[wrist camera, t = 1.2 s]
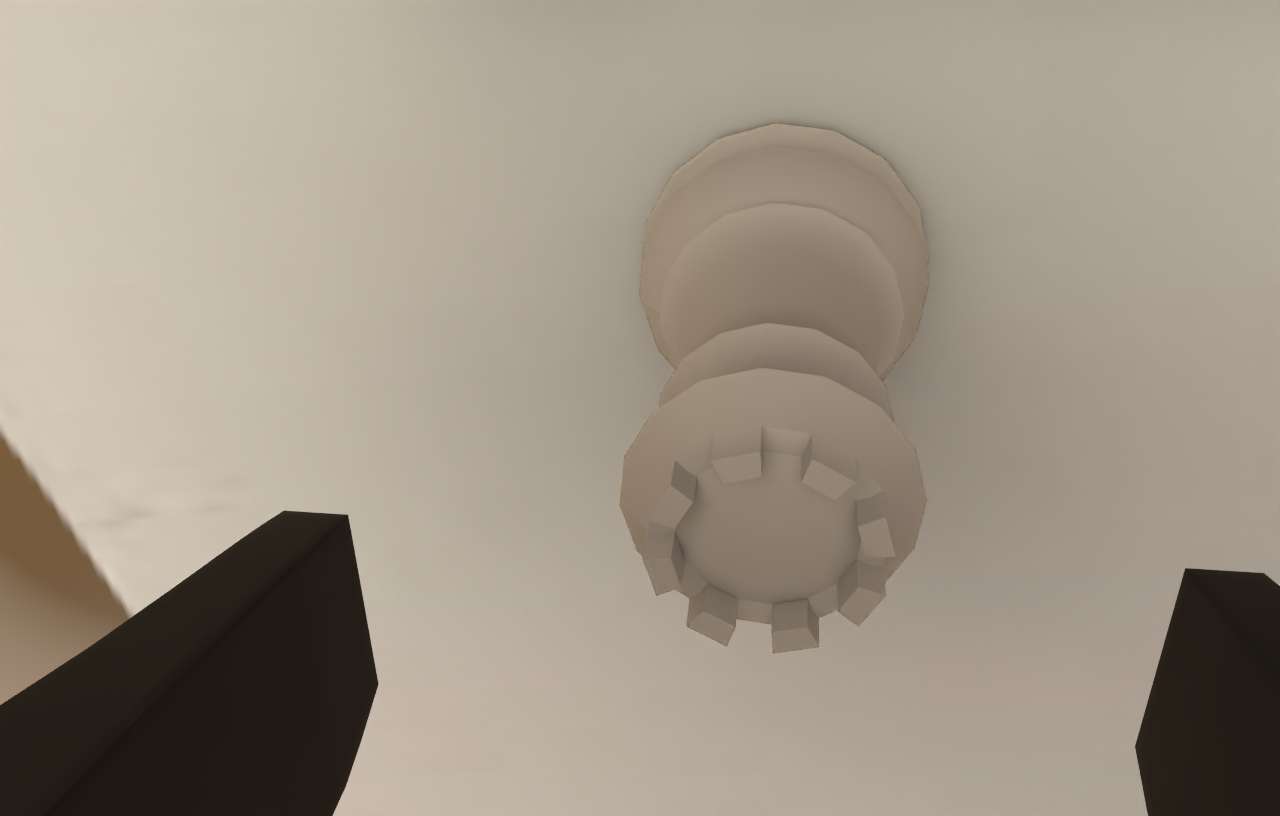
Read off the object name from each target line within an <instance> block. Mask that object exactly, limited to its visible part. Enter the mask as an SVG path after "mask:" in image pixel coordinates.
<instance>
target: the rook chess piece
mask: <svg viewBox="0 0 1280 816" xmlns="http://www.w3.org/2000/svg"><path fill="white" fill-rule="evenodd" d="M928 259H929V254H928V249H927V244H926V239H925V234H924V229H923V224H922V219H921V214H920V209H919V204H918V203H917V202H916V200H915V199H914V198H913V196H912V195H911V194H910V192H909V191H908V189H907V188H906V187H905V185H904V184H903V183H902V181H901V180H900V179H899V177H898V176H897V174H896V173H895V172H894V170H893V169H892V168H891V166H890V165H889V164H888V162H887V161H886V160H885V159H884V158H882V157H880V156H878V155H877V154H875V153H873V152H871V151H870V150H868V149H866V148H865V147H863V146H861V145H859V144H858V143H856V142H854V141H852V140H851V139H849V138H847V137H845V136H844V135H842V134H840V133H838V132H837V131H834V130H826V129H818V128H810V127H803V126H795V125H787V124H779V123H775V124H771V125H767V126H763V127H760V128H756V129H752V130H748V131H745V132H741V133H737V134H733V135H729V136H726V137H722V138H719V139H717V140H716V141H715V142H713V143H712V144H711V145H709V146H708V147H707V148H705V149H704V150H703V151H701V152H700V153H699V154H698V155H696V156H695V157H694V158H692V159H691V160H690V161H688V162H687V163H686V164H684V165H683V166H682V167H680V168H679V169H678V170H676V171H675V172H674V173H673V175H672V176H671V178H670V180H669V182H668V183H667V185H666V187H665V189H664V191H663V192H662V194H661V196H660V198H659V199H658V201H657V203H656V205H655V206H654V208H653V210H652V212H651V213H650V215H649V217H648V219H647V225H646V235H645V242H644V250H643V261H642V271H641V281H640V291H639V294H640V297H641V300H642V303H643V306H644V309H645V312H646V315H647V318H648V321H649V324H650V327H651V330H652V333H653V336H654V339H655V342H656V344H657V347H658V350H659V351H660V352H661V353H662V355H663V356H664V357H665V358H666V359H667V360H668V361H669V363H670V364H671V365H672V366H673V367H674V368H675V369H676V370H675V371H674V373H673V375H672V376H671V378H670V379H669V381H668V382H667V384H666V386H665V387H664V389H663V390H662V392H661V394H660V402H659V408H658V409H656V410H655V411H653V412H652V413H651V415H650V417H649V418H648V420H647V421H646V423H645V424H644V426H643V428H642V429H641V431H640V432H639V434H638V435H637V437H636V439H635V440H634V442H633V443H632V445H631V446H630V448H629V450H628V451H627V453H626V454H625V456H624V465H623V475H622V486H621V496H620V507H621V510H622V512H623V515H624V518H625V520H626V523H627V525H628V528H629V531H630V533H631V536H632V539H633V541H634V544H635V547H636V549H637V551H638V552H639V553H640V554H641V555H642V556H643V561H644V564H645V566H646V569H647V572H648V574H649V577H650V580H651V582H652V585H653V588H654V590H655V593H656V595H660V594H663V593H666V592H669V591H672V590H677V591H679V592H680V593H682V594H684V595H685V596H687V597H689V598H690V602H689V609H688V616H687V623H686V626H687V627H689V628H691V629H693V630H695V631H697V632H699V633H701V634H703V635H705V636H707V637H709V638H711V639H713V640H715V641H717V642H719V643H721V644H723V645H725V646H727V645H728V642H729V640H730V638H731V636H732V634H733V631H734V629H735V627H736V619H740V620H747V621H753V622H759V623H766V624H772V646H773V653H780V652H787V651H794V650H801V649H808V648H815V647H819V618H820V617H823V616H825V615H827V614H830V613H832V612H834V611H836V610H838V612H839V613H841V614H842V615H843V616H845V617H846V618H847V619H849V620H850V621H851V622H853V623H854V624H855V625H857V626H858V627H859V626H860V625H861V624H862V622H863V621H864V620H865V619H866V618H867V617H868V616H869V614H870V613H871V612H872V611H873V610H874V609H875V608H876V606H877V605H878V604H879V603H880V602H881V601H882V599H883V598H884V597H885V596H886V592H885V582H886V580H887V579H888V578H889V577H890V576H891V575H892V573H893V572H894V571H895V570H896V569H897V568H898V567H899V565H900V564H901V563H902V562H903V561H904V560H905V558H906V557H907V556H908V555H909V554H910V553H911V551H912V550H913V549H914V547H915V543H916V539H917V535H918V532H919V528H920V524H921V521H922V517H923V513H924V509H925V506H926V502H927V499H926V494H925V490H924V485H923V481H922V476H921V472H920V468H919V463H918V459H917V454H916V450H915V449H914V447H913V446H912V445H911V444H910V443H909V441H908V440H907V439H906V438H905V436H904V435H903V434H902V433H901V431H900V430H899V429H898V428H897V426H896V425H895V422H894V418H893V414H892V409H891V405H890V401H889V396H888V392H887V388H886V386H885V385H884V383H883V382H882V380H883V379H884V378H885V376H886V375H887V374H888V372H889V371H890V370H891V368H892V367H893V366H894V364H895V363H896V362H897V360H898V359H899V358H900V356H901V355H902V354H903V353H904V351H905V350H906V349H907V347H908V346H909V345H910V343H911V342H912V341H913V339H914V337H915V335H916V333H917V330H918V326H919V322H920V318H921V313H922V309H923V305H924V301H925V297H926V293H927V289H928V284H929V275H928V270H927V264H928Z"/></svg>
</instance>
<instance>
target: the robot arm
mask: <svg viewBox="0 0 1280 816" xmlns="http://www.w3.org/2000/svg"><path fill="white" fill-rule="evenodd" d="M377 687H378V680H377V674H376V668H375V663H374V657H373V652H372V646H371V641H370V635H369V629H368V624H367V618H366V613H365V607H364V601H363V596H362V590H361V585H360V579H359V574H358V568H357V562H356V557H355V551H354V546H353V540H352V535H351V529H350V523H349V518H348V515H341V514H326V513H310V512H294V511H283V512H281V513H280V514H278V515H277V516H275V517H274V518H272V519H270V520H269V521H267V522H266V523H264V524H263V525H261V526H260V527H258V528H257V529H255V530H254V531H252V532H251V533H249V534H248V535H247V536H245V537H244V538H242V539H241V540H239V541H238V542H237V543H235V544H234V545H232V546H231V547H230V548H228V549H227V550H225V551H224V552H223V553H221V554H220V555H218V556H217V557H216V558H214V559H213V560H211V561H210V562H209V563H207V564H206V565H204V566H203V567H202V568H200V569H199V570H198V571H196V572H195V573H193V574H192V575H191V576H189V577H188V578H186V579H185V580H184V581H182V582H181V583H179V584H178V585H177V586H175V587H174V588H173V589H171V590H170V591H168V592H167V593H165V594H164V595H163V596H161V597H160V598H158V599H157V600H156V601H154V602H153V603H151V604H150V605H148V606H147V607H146V608H144V609H143V610H141V611H140V612H139V613H137V614H136V615H134V616H133V617H131V618H130V619H129V620H127V621H126V622H124V623H123V624H122V625H120V626H119V627H118V628H116V629H114V630H113V631H112V632H110V633H109V634H108V635H106V636H105V637H103V638H102V639H100V640H99V641H97V642H96V643H95V644H93V645H92V646H90V647H89V648H88V649H86V650H84V651H83V652H81V653H80V654H78V655H77V656H75V657H74V658H72V659H71V660H69V661H67V662H66V663H64V664H63V665H61V666H60V667H58V668H57V669H55V670H54V671H52V672H51V673H49V674H48V675H46V676H45V677H43V678H41V679H40V680H38V681H37V682H35V683H34V684H32V685H31V686H29V687H28V688H26V689H25V690H23V691H21V692H20V693H18V694H17V695H15V696H14V697H12V698H11V699H9V700H8V701H6V702H5V703H3V704H2V705H0V816H332V815H333V813H334V811H335V809H336V807H337V804H338V802H339V800H340V798H341V795H342V793H343V791H344V789H345V787H346V784H347V781H348V778H349V775H350V772H351V769H352V766H353V763H354V760H355V757H356V754H357V751H358V748H359V745H360V742H361V739H362V736H363V733H364V730H365V726H366V723H367V720H368V716H369V713H370V710H371V707H372V703H373V700H374V697H375V694H376V690H377ZM1135 748H1136V753H1137V759H1138V764H1139V769H1140V775H1141V780H1142V785H1143V791H1144V796H1145V801H1146V807H1147V812H1148V816H1280V586H1279V585H1278V584H1276V583H1275V582H1274V581H1273V580H1271V579H1270V578H1269V577H1268V576H1266V575H1265V574H1264V573H1251V572H1235V571H1219V570H1204V569H1188V568H1185V572H1184V575H1183V579H1182V582H1181V586H1180V589H1179V593H1178V596H1177V600H1176V603H1175V607H1174V611H1173V614H1172V618H1171V621H1170V625H1169V628H1168V632H1167V635H1166V639H1165V642H1164V646H1163V650H1162V653H1161V657H1160V660H1159V664H1158V667H1157V671H1156V674H1155V678H1154V681H1153V685H1152V689H1151V692H1150V696H1149V699H1148V703H1147V706H1146V710H1145V713H1144V717H1143V720H1142V724H1141V728H1140V731H1139V735H1138V738H1137V742H1136V745H1135Z"/></svg>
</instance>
